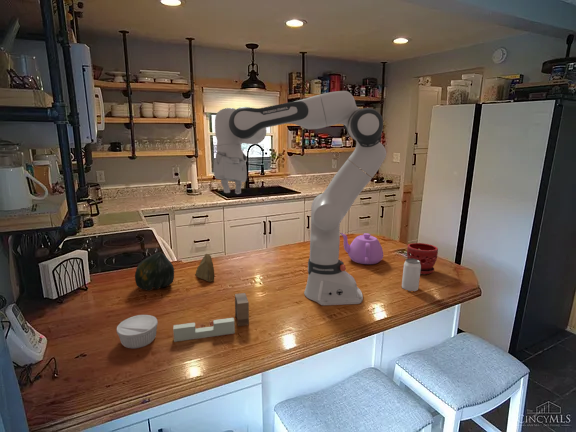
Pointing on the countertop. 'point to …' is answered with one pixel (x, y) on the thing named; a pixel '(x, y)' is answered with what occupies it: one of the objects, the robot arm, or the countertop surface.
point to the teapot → (364, 249)
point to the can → (411, 274)
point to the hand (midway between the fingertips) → (232, 193)
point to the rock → (206, 269)
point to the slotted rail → (203, 330)
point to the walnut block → (242, 309)
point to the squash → (154, 272)
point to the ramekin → (137, 331)
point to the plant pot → (423, 256)
